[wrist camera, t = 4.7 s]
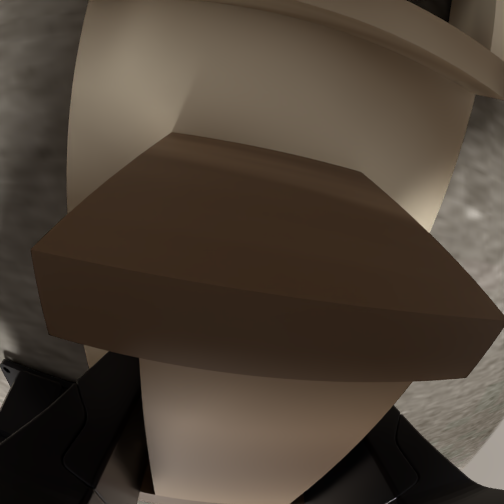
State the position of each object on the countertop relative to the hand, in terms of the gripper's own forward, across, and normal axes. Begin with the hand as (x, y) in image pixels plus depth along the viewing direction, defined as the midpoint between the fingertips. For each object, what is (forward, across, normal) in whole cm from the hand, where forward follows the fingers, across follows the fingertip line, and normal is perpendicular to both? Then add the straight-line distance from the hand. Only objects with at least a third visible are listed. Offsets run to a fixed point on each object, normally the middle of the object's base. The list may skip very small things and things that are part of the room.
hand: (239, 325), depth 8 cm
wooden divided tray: (+3, 0, -6) cm, 6 cm away
